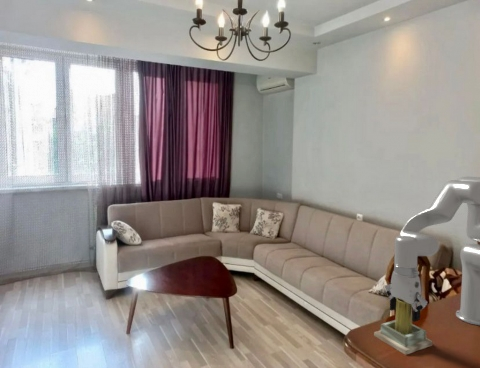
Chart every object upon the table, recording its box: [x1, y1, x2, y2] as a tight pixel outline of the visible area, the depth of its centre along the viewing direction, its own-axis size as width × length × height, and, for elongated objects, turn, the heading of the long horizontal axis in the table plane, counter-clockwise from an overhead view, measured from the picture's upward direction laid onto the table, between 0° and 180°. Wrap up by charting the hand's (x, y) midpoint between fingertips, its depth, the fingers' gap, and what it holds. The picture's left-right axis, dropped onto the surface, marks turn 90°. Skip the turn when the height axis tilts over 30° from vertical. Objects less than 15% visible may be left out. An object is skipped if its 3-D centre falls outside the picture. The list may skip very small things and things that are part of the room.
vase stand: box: [373, 319, 434, 356], centre depth 128 cm, size 14×14×5 cm
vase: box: [394, 298, 413, 335], centre depth 127 cm, size 6×6×14 cm
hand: (404, 314), depth 127 cm, fingers open, 9 cm apart
